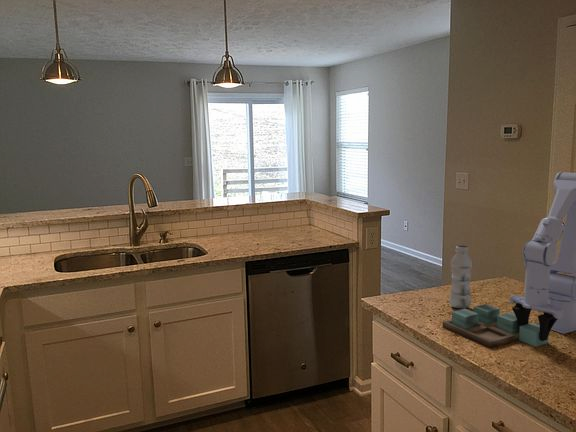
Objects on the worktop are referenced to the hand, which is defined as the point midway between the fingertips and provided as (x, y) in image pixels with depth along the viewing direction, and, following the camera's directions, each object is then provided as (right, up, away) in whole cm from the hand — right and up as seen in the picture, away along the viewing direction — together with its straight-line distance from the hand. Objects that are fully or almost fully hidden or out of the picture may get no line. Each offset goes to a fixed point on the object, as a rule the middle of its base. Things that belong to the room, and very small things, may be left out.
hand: (533, 336), depth 137 cm
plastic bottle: (-11, +2, +27) cm, 29 cm away
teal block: (0, -2, 0) cm, 2 cm away
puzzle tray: (-9, 0, +8) cm, 12 cm away
